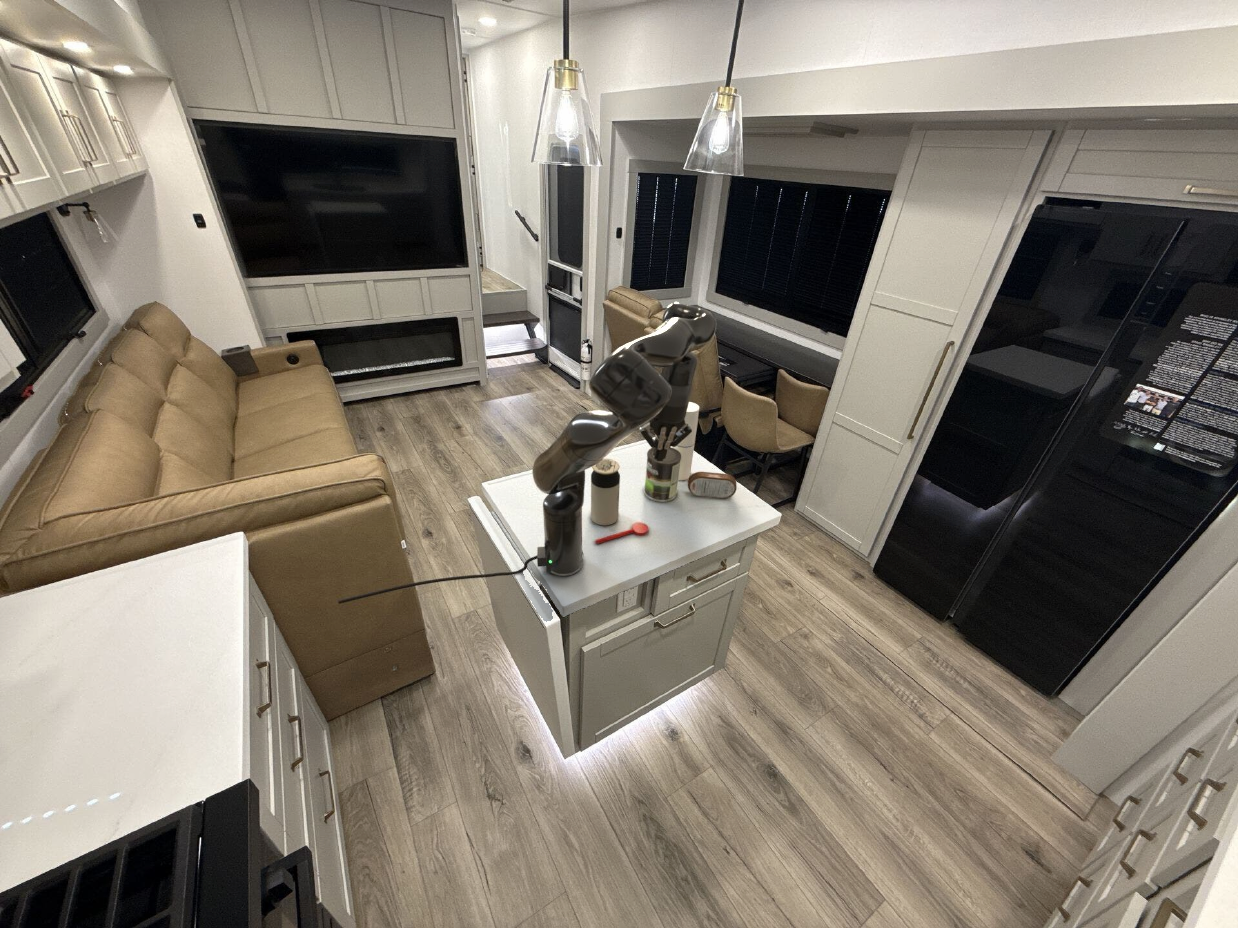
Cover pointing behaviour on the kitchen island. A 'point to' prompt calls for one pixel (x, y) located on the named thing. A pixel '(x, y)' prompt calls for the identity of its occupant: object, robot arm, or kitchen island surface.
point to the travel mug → (605, 492)
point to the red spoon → (627, 532)
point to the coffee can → (662, 476)
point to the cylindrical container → (688, 442)
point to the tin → (712, 485)
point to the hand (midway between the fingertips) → (658, 459)
